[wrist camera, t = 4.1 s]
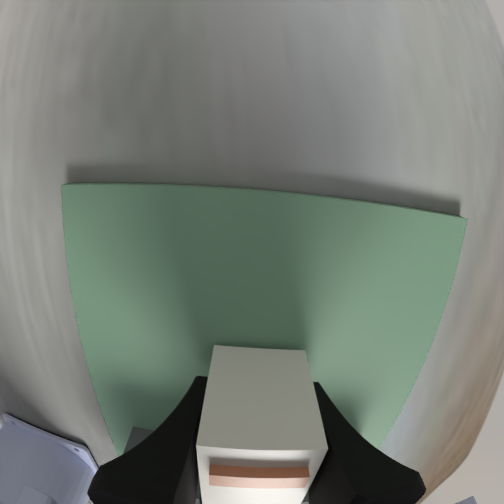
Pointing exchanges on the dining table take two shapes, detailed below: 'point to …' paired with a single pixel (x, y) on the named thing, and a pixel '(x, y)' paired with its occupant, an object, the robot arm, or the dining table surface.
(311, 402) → the white box
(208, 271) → the board
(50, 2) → the dining table surface
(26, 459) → the robot arm
